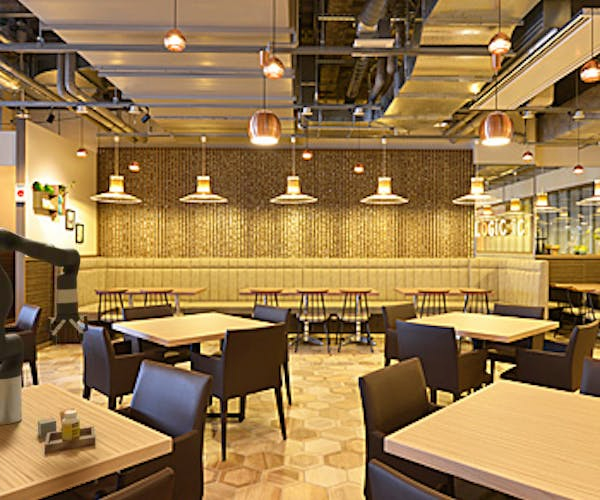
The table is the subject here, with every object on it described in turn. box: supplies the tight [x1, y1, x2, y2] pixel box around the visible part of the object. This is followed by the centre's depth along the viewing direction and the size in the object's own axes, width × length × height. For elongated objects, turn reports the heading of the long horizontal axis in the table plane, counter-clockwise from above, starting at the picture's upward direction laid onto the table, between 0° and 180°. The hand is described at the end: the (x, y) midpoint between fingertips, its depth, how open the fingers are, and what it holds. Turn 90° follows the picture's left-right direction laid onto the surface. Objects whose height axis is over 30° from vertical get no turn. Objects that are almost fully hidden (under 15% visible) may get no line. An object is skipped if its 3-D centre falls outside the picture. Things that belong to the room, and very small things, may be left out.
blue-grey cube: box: [37, 417, 57, 439], centre depth 180 cm, size 5×5×5 cm
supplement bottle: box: [61, 409, 81, 441], centre depth 171 cm, size 5×5×10 cm
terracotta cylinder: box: [59, 407, 75, 426], centre depth 187 cm, size 5×5×6 cm
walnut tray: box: [44, 425, 96, 455], centre depth 171 cm, size 15×12×3 cm
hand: (68, 343), depth 190 cm, fingers open, 8 cm apart
